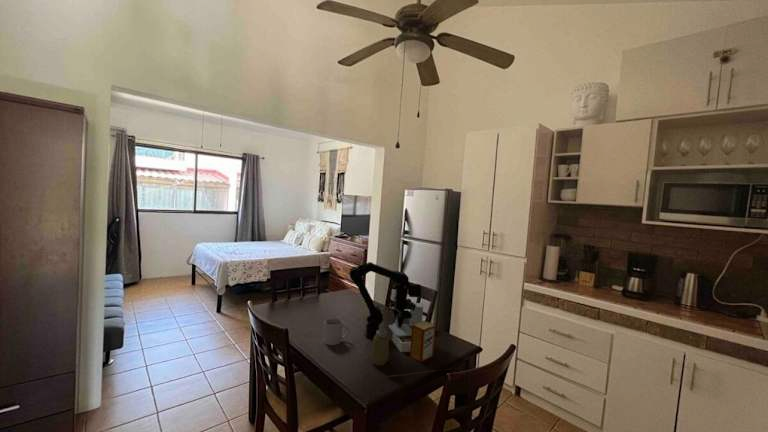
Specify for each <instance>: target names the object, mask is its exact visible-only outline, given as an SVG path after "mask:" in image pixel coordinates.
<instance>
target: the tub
mask: <svg viewBox="0 0 768 432" xmlns="http://www.w3.org/2000/svg"><path fill="white" fill-rule="evenodd" d="M402 337H403V336H402ZM409 337H411V336H409ZM392 342H393V344H394V345H395V346H396V347H397V349H398V350H399V352H400V353H408V352H409V353H410V348H411V342H402V341H401V337H396V335H395V334H394V333H393V332H392Z"/></svg>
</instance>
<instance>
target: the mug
mask: <svg viewBox="0 0 768 432" xmlns="http://www.w3.org/2000/svg"><path fill="white" fill-rule="evenodd" d="M323 325H324V326H323V344H325V345H327V346H336V345H339V344H341V343H342V339H346V337H347V336H348V335H349V327H348V325H347V324H346V323H344V322H343V320H342V319H339V318H327V319H326V320H324V323H323ZM343 326H344V327H345V328H346V332H345V333H344V335H343ZM342 335H343V336H342Z"/></svg>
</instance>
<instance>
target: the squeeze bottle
mask: <svg viewBox="0 0 768 432" xmlns="http://www.w3.org/2000/svg"><path fill="white" fill-rule="evenodd" d="M387 333H388V332H387V331H386V330H385V325H384V323H383V322H382V323H381V324H379V330H377V331H376V335H375V336H374V338H373V339H372V346H371V351H370V358H371V362H372V364H373V365H375V366H378V367H379V366H385V365H386V364H387V362H388V360H389V356H390V353H389V351H390V350H389V349H390V348H389V347H390V346H389V344H390V343H389V336H388V334H387Z"/></svg>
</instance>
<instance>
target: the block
mask: <svg viewBox="0 0 768 432" xmlns="http://www.w3.org/2000/svg"><path fill="white" fill-rule="evenodd" d="M401 341H402V342H411V337H409V336H403V337H401Z"/></svg>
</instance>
